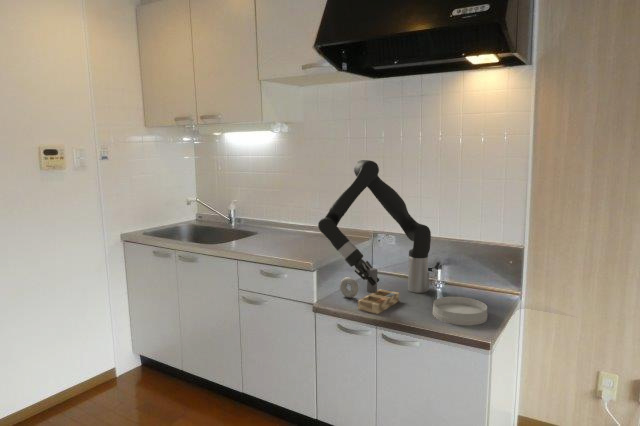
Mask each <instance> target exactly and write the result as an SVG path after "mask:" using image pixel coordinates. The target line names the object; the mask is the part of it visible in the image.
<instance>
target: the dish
mask: <svg viewBox="0 0 640 426" xmlns="http://www.w3.org/2000/svg"><path fill="white" fill-rule="evenodd" d="M432 315H434V316H433V318H435V317H436V318H435V319H437V320H438V319H439V320H438V321H441V322H443V321H444V322H443V323H446V322H447V324H450V323H451V325H458V326H476V325H481V324H484V323H486V322H487V320H488V305H486V303H484V302H482V301H481V300H477V299H474V298H470V297H465V296H442V297H439V298H436V299H435V300H434V301H433V307H432Z"/></svg>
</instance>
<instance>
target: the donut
mask: <svg viewBox="0 0 640 426" xmlns="http://www.w3.org/2000/svg"><path fill="white" fill-rule="evenodd" d="M348 285H349V286H350V290H349V289H348ZM339 289H340V292H341V294H342V296H344V297H346V298H349V299H353V298H354V297H356V296H357V295H358V292H359V284H358V282H357V281H356V279H354V278H353V277H351V276H346V277H344V278H342V279H341V281H340V284H339Z"/></svg>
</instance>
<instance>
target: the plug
mask: <svg viewBox="0 0 640 426" xmlns="http://www.w3.org/2000/svg"><path fill="white" fill-rule="evenodd" d="M367 270H368V273H369V274H370V276H371V277H372V278H373V279H374V280H375V282H376V284H375V285H374V286H372V285H371V284H370V283H369V282H368V280H366V292H367V293H369V294H371V293H376V292H377V290H378V282H377V277H378V268H376V267H375V268H373V267H372V268H369V269H367Z"/></svg>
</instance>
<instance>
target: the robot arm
mask: <svg viewBox="0 0 640 426" xmlns="http://www.w3.org/2000/svg"><path fill="white" fill-rule="evenodd" d="M379 172H380V168H379V164H377V163H376V162H375V161H373V160H368V159H367V160H366V159H361V160H358V161H357V162H356V163H355V164H354V166H353V173H354V175H355V179H354V180H353V182H352V183H350V185H349V186H348V187H347V188H346V189H345V190H343V192H342V193H340V195H338V196H337V198H336V199H335V200H334V202H333V203H332V205H331V206H330V207H329V211H328V213H327V214H326V215H325V216H324V217H322V218H320V220H319V221H318V224H317V226H318V230H319V231H320V232H321V234H323V235H324V236H325V237H326V238H327V239H328V240H329V242H330V243H331V245H332V246H333V247H334V249H335V250H336V251H337V252H338V254H339V255H340V256H341V257H342V259H343V260H344V261H345V262H346V263H347V264H348V266H349V267H351V268H352V267H355V269H354V273H356V274H357V275H358V276H359V277H360V278H361V279H362V280H364V281H365V280H366V281H367V280H368V282H369V283H370V284H371V285H372V286H374V285H375V284H376V282H375V280H374V279H373V278H372V277H371V276H370V274H369V273H368V270H367V269H369V268H373V266H372V264H370V261H368V260H366V261H365V260H364V259H363V258H364V255H363V253H362V252H361V251H360V250H359V249H358V247H357V246H356V245H355V244H354V243H352V242H351V241H350V238H348V237H347V236H346V235H345V234H344V233H343V232H342V231H341V229H340V228H339V227H338V224H339V223H340V222H341V220H342V218H343V217H344V216H345V215H346V213H347V211H348V210H349V209H350V207H351V206H352V205H353V204H354V202H355V201H356V200H357V198H358V197H359V196H360V195H361V193H362V192H363V191H364V190H366V188H367V189H368V190H369V191H370V192H371V193H372V195H373V196H374V197H375V199H377V201H378V202H379V204H381V206H382V207H383V208H384V210H385V211H386V212H387V213H388V215H390V217H391V218H392V219H393V220H394V221H395V222H396V223H397V224H398V225H399V226H400V228H401V230H402V231H403V232H404V234H405V236H406V237H407V238H408V239H409V240H410V241H411V242H413V246H412V248H411V249H409V250H408V276H407V277H408V278H407V280H408V281H407V290H408V291H409V292H411V293H415V294H422V293H426V292H428V291H430V271H428V268H429V264H428V263H429V253H430V250H431V239H432V232H431V229H430V228H429V227H428V225H425V224H422V223H419V222H417V221H416V220H415V219H414V218H413V217H412V216H411V214H410V213H409V211H408V208H407V204H406V202H405V201H404V200H403V198H402V197H401V196H400V194H399V193H398V191H396V190H395V189H394V188H393V187H391V186H390V185H389V184H387V183H386V182H385V181H383V180H382V179H381V178H380V177H379ZM379 281H380V279H379V277H378V276H377V283H378V282H379Z"/></svg>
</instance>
